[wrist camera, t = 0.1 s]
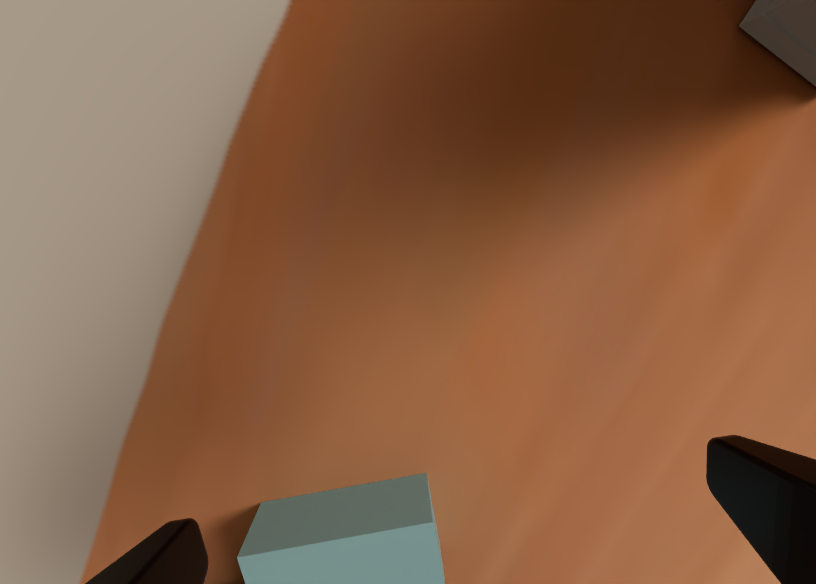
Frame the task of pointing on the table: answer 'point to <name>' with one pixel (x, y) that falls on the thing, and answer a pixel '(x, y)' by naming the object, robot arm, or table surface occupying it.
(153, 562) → the robot arm
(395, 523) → the housing
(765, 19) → the cassette tape recorder
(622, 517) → the table surface
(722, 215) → the table surface
